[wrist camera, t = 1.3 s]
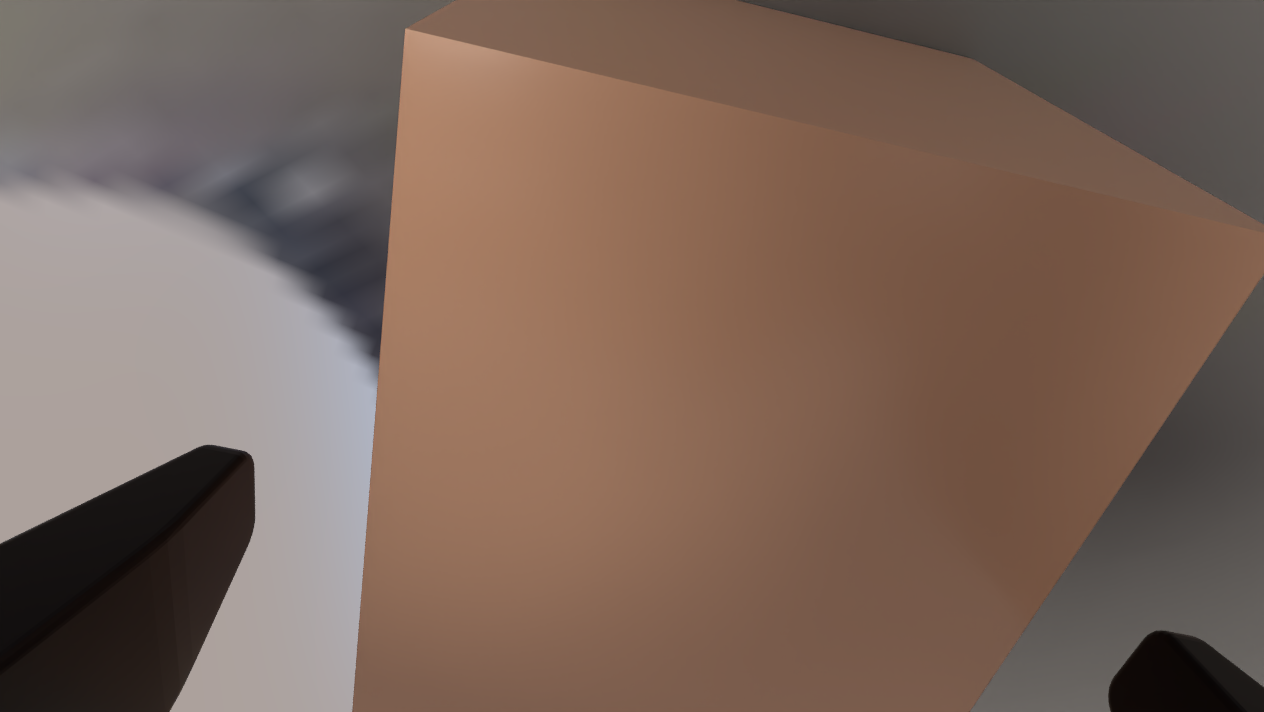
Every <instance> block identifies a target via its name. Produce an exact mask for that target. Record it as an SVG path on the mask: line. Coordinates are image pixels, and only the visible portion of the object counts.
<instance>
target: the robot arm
mask: <svg viewBox="0 0 1264 712" xmlns="http://www.w3.org/2000/svg"><path fill="white" fill-rule="evenodd" d="M254 480H255V479H254V462H253V459H252V456H251V455H250V454H248V453H247V452H245V451H241V450H236V449H231V448H226V447H221V446H216V445H204V446H201V447H198V448H196V449H194V450H192V451H190V452H188V453H186V454H183V455H181V456H180V457H177V458H175V459H173V460H171V461H169V462H167V463H165V464H163V465H161V466H159V467H157V468H155V469H153V470H151V471H149V472H146V473H144V474H143V475H140V476H138V477H136V478H134V479H132V480H130V481H128V482H126V483H124V484H122V485H120V486H118V487H116V488H114V489H112V490H110V491H108V492H106V493H103V494H101V495H99V496H97V497H95V498H93V499H91V500H89V501H87V502H85V503H83V504H81V505H79V506H77V507H75V508H73V509H71V510H68V511H66V512H64V513H62V514H60V515H58V516H56V517H54V518H52V519H50V520H48V521H46V522H44V523H42V524H40V525H38V526H36V527H33V528H31V529H29V530H27V531H25V532H23V533H21V534H19V535H17V536H15V537H13V538H11V539H9V540H7V541H5V542H3V543H1V544H0V712H170V710H171V708H172V706H173V704H174V703H175V701H176V699H177V697H178V696H179V694H180V692H181V690H182V688H183V686H184V684H185V682H186V680H187V678H188V675H189V673H190V671H191V669H192V667H193V665H194V663H195V661H196V659H197V656H198V654H199V652H200V650H201V648H202V645H203V643H204V641H205V639H206V637H207V634H208V632H209V630H210V628H211V626H212V623H213V621H214V619H215V617H216V615H217V612H218V610H219V608H220V606H221V604H222V601H223V599H224V597H225V595H226V593H227V591H228V588H229V586H230V584H231V582H232V580H233V577H234V575H235V573H236V571H237V568H238V566H239V564H240V562H241V560H242V558H243V555H244V553H245V551H246V548H247V547H248V544H249V542H250V539H251V536H252V533H253V528H254V523H255V483H254V482H255V481H254ZM1108 698H1109V707H1110V711H1111V712H1264V687H1263V686H1261V685H1260V684H1259V683H1258V682H1256V681H1255V680H1254V679H1252V678H1251V677H1250V676H1248V675H1247V674H1246V673H1245V672H1243V671H1242V670H1241V669H1239V668H1238V667H1237V666H1236V665H1234V664H1233V663H1232V662H1230V661H1229V660H1228V659H1227V658H1225V657H1224V656H1223V655H1221V654H1220V653H1219V652H1217V651H1216V650H1215V649H1214V648H1212V647H1211V646H1210V645H1208V644H1207V643H1206V642H1204V641H1203V640H1201V639H1199V638H1196V637H1193V636H1190V635H1184V634H1179V633H1174V632H1169V631H1162V630H1161V631H1155V632H1152V633H1150V634H1149V635H1147V636H1146V637H1145V638H1144V639H1143V641H1142V642H1141V643H1140V644H1139V646H1138V647H1137V648H1136V650H1135V651H1134V652H1133V653H1132V655H1131V656H1130V657H1129V658H1128V660H1127V661H1126V662H1125V664H1124V665H1123V666H1122V667H1121V669H1120V670H1119V671H1118V672H1117V674H1116V675H1115V676H1114V678H1113V679H1112V681H1111V684H1110V687H1109V693H1108Z"/></svg>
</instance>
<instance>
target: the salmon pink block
mask: <svg viewBox="0 0 1264 712" xmlns="http://www.w3.org/2000/svg"><path fill="white" fill-rule="evenodd" d="M1263 274H1264V225H1263V224H1262V223H1260V222H1258V221H1256V220H1255V219H1253V218H1251V217H1249V216H1248V215H1246V214H1244V213H1242V212H1241V211H1239V210H1237V209H1235V208H1234V207H1232V206H1230V205H1228V204H1227V203H1225V202H1223V201H1221V200H1220V199H1218V198H1216V197H1214V196H1213V195H1211V194H1209V193H1207V192H1206V191H1204V190H1202V189H1200V188H1199V187H1197V186H1195V185H1193V184H1192V183H1190V182H1188V181H1186V180H1185V179H1183V178H1181V177H1179V176H1177V175H1176V174H1174V173H1172V172H1170V171H1169V170H1167V169H1165V168H1163V167H1162V166H1160V165H1158V164H1156V163H1155V162H1153V161H1151V160H1149V159H1148V158H1146V157H1144V156H1142V155H1141V154H1139V153H1137V152H1135V151H1134V150H1132V149H1130V148H1128V147H1127V146H1125V145H1123V144H1121V143H1120V142H1118V141H1116V140H1114V139H1113V138H1111V137H1109V136H1107V135H1106V134H1104V133H1102V132H1100V131H1099V130H1097V129H1095V128H1093V127H1092V126H1090V125H1088V124H1086V123H1085V122H1083V121H1081V120H1079V119H1077V118H1076V117H1074V116H1072V115H1070V114H1069V113H1067V112H1065V111H1063V110H1062V109H1060V108H1058V107H1056V106H1055V105H1053V104H1051V103H1049V102H1048V101H1046V100H1044V99H1042V98H1041V97H1039V96H1037V95H1035V94H1034V93H1032V92H1030V91H1028V90H1027V89H1025V88H1023V87H1021V86H1020V85H1018V84H1016V83H1014V82H1013V81H1011V80H1009V79H1007V78H1006V77H1004V76H1002V75H1000V74H999V73H997V72H995V71H993V70H992V69H990V68H988V67H986V66H985V65H983V64H981V63H979V62H977V61H976V60H974V59H971V58H967V57H963V56H959V55H955V54H951V53H947V52H943V51H939V50H935V49H931V48H927V47H923V46H919V45H915V44H911V43H907V42H903V41H899V40H895V39H891V38H887V37H883V36H879V35H875V34H871V33H867V32H863V31H859V30H855V29H851V28H847V27H843V26H839V25H835V24H831V23H827V22H823V21H819V20H814V19H810V18H806V17H802V16H798V15H794V14H790V13H786V12H782V11H778V10H774V9H770V8H766V7H762V6H758V5H754V4H750V3H746V2H742V1H738V0H455V1H454V2H452V3H450V4H448V5H447V6H445V7H443V8H441V9H439V10H438V11H436V12H434V13H432V14H430V15H429V16H427V17H425V18H423V19H422V20H420V21H418V22H416V23H414V24H413V25H411V26H409V27H407V28H405V40H404V52H403V65H402V78H401V91H400V104H399V117H398V130H397V143H396V156H395V168H394V181H393V194H392V207H391V220H390V233H389V246H388V259H387V272H386V284H385V297H384V310H383V323H382V336H381V349H380V362H379V375H378V388H377V400H376V414H375V426H374V439H373V440H374V441H373V452H372V465H371V478H370V491H369V505H368V517H367V530H366V542H365V543H366V544H365V556H364V568H363V569H364V570H363V581H362V594H361V607H360V620H359V633H358V645H357V658H356V671H355V684H354V697H353V711H352V712H970V710H971V709H972V707H973V706H974V704H975V703H976V701H977V700H978V699H979V697H980V696H981V694H982V693H983V691H984V690H985V688H986V687H987V685H988V684H989V682H990V681H991V679H992V678H993V676H994V675H995V673H996V672H997V670H998V669H999V667H1000V666H1001V664H1002V663H1003V661H1004V660H1005V658H1006V657H1007V655H1008V654H1009V652H1010V651H1011V649H1012V648H1013V646H1014V645H1015V643H1016V642H1017V640H1018V639H1019V637H1020V636H1021V635H1022V633H1023V632H1024V630H1025V629H1026V627H1027V626H1028V624H1029V623H1030V621H1031V620H1032V618H1033V617H1034V615H1035V614H1036V612H1037V611H1038V609H1039V608H1040V606H1041V605H1042V603H1043V602H1044V600H1045V599H1046V597H1047V596H1048V594H1049V593H1050V591H1051V590H1052V588H1053V587H1054V585H1055V584H1056V582H1057V581H1058V579H1059V578H1060V576H1061V575H1062V573H1063V572H1064V571H1065V569H1066V568H1067V566H1068V565H1069V563H1070V562H1071V560H1072V559H1073V557H1074V556H1075V554H1076V553H1077V551H1078V550H1079V548H1080V547H1081V545H1082V544H1083V542H1084V541H1085V539H1086V538H1087V536H1088V535H1089V533H1090V532H1091V530H1092V529H1093V527H1094V526H1095V524H1096V523H1097V521H1098V520H1099V518H1100V517H1101V515H1102V514H1103V512H1104V511H1105V510H1106V508H1107V507H1108V505H1109V504H1110V502H1111V501H1112V499H1113V498H1114V496H1115V495H1116V493H1117V492H1118V490H1119V489H1120V487H1121V486H1122V484H1123V483H1124V481H1125V480H1126V478H1127V477H1128V475H1129V474H1130V472H1131V471H1132V469H1133V468H1134V466H1135V465H1136V463H1137V462H1138V460H1139V459H1140V457H1141V456H1142V454H1143V453H1144V451H1145V450H1146V448H1147V447H1148V446H1149V444H1150V443H1151V441H1152V440H1153V438H1154V437H1155V435H1156V434H1157V432H1158V431H1159V429H1160V428H1161V426H1162V425H1163V423H1164V422H1165V420H1166V419H1167V417H1168V416H1169V414H1170V413H1171V411H1172V410H1173V408H1174V407H1175V405H1176V404H1177V402H1178V401H1179V399H1180V398H1181V396H1182V395H1183V393H1184V392H1185V390H1186V389H1187V387H1188V386H1189V385H1190V383H1191V382H1192V380H1193V379H1194V377H1195V376H1196V374H1197V373H1198V371H1199V370H1200V368H1201V367H1202V365H1203V364H1204V362H1205V361H1206V359H1207V358H1208V356H1209V355H1210V353H1211V352H1212V350H1213V349H1214V347H1215V346H1216V344H1217V343H1218V341H1219V340H1220V338H1221V337H1222V335H1223V334H1224V332H1225V331H1226V329H1227V328H1228V326H1229V325H1230V323H1231V322H1232V321H1233V319H1234V318H1235V316H1236V315H1237V313H1238V312H1239V310H1240V309H1241V307H1242V306H1243V304H1244V303H1245V301H1246V300H1247V298H1248V297H1249V295H1250V294H1251V292H1252V291H1253V289H1254V288H1255V286H1256V285H1257V283H1258V282H1259V280H1260V279H1261V277H1262V276H1263Z"/></svg>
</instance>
